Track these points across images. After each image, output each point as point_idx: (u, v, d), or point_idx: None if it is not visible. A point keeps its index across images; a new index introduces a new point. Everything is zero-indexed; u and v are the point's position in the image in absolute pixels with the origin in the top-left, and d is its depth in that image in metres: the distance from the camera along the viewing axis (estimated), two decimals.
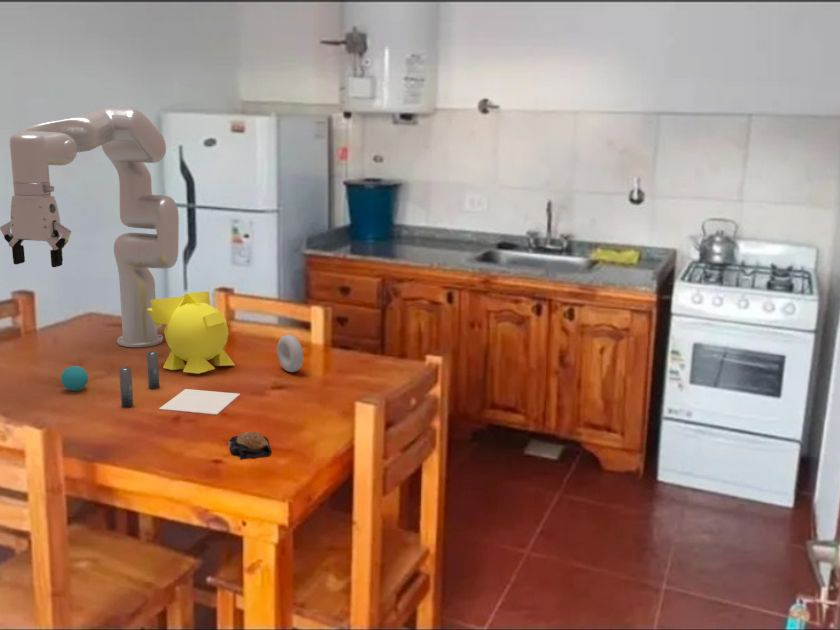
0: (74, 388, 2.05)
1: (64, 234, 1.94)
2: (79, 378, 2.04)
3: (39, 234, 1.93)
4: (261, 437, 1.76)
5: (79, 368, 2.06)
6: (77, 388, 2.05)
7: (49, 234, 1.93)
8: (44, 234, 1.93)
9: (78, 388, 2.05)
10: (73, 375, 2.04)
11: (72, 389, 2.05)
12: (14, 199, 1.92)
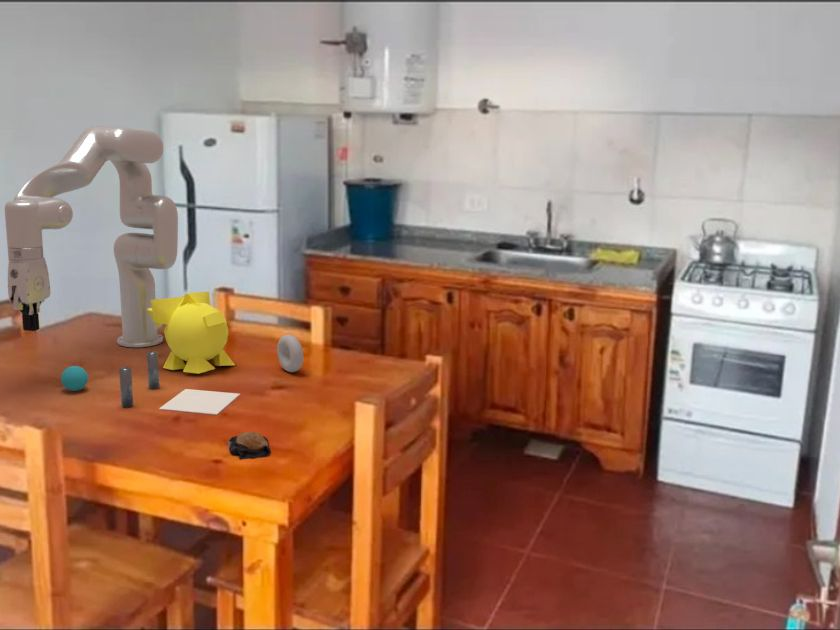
0: (74, 388, 2.05)
1: None
2: (79, 378, 2.04)
3: None
4: (261, 437, 1.76)
5: (79, 368, 2.06)
6: (77, 388, 2.05)
7: (9, 297, 1.99)
8: None
9: (78, 388, 2.05)
10: (73, 375, 2.04)
11: (72, 389, 2.05)
12: None
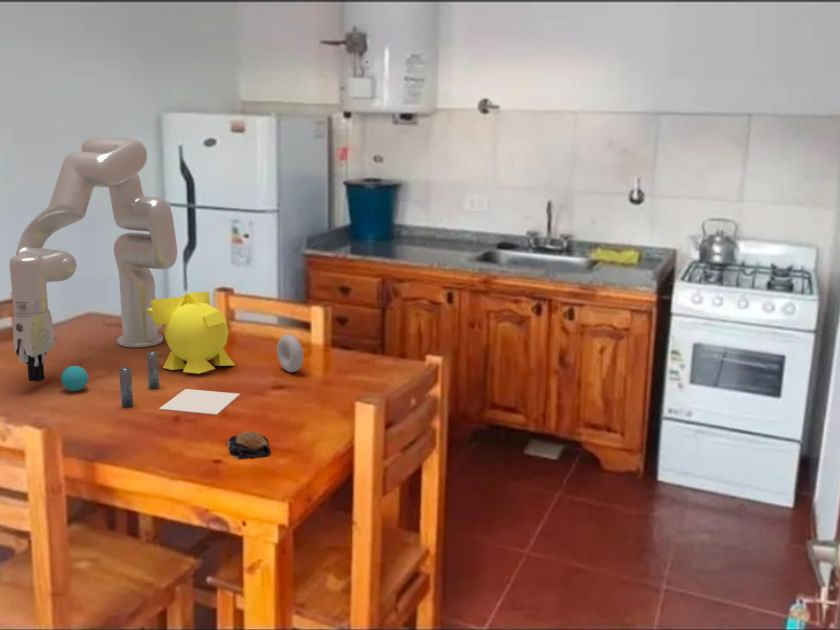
0: (74, 388, 2.05)
1: None
2: (79, 378, 2.04)
3: None
4: (260, 437, 1.76)
5: (79, 368, 2.06)
6: (77, 388, 2.05)
7: None
8: None
9: (78, 388, 2.05)
10: (73, 375, 2.04)
11: (72, 389, 2.05)
12: None
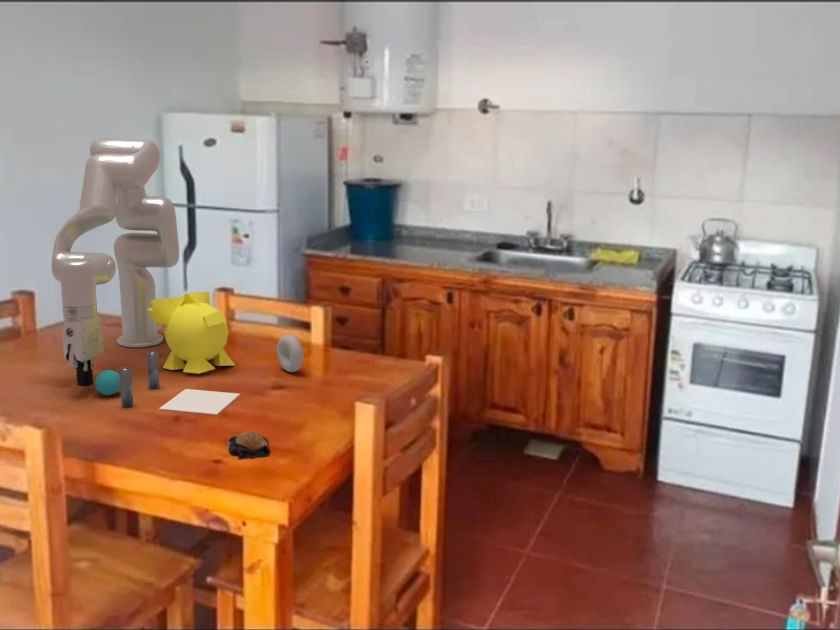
0: (96, 380, 2.03)
1: None
2: None
3: None
4: (260, 437, 1.76)
5: None
6: None
7: (64, 355, 2.00)
8: None
9: (96, 378, 2.03)
10: (100, 392, 2.03)
11: (97, 378, 2.02)
12: None
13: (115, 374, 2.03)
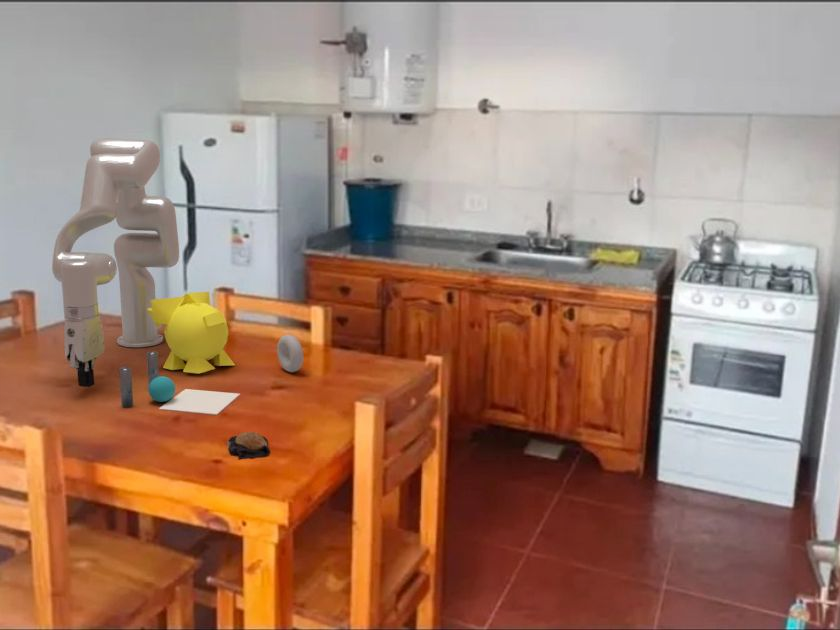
0: None
1: None
2: (165, 400, 2.00)
3: None
4: (260, 437, 1.76)
5: (173, 391, 2.01)
6: None
7: (65, 355, 2.00)
8: None
9: (155, 400, 2.01)
10: (164, 396, 1.99)
11: (151, 397, 2.00)
12: None
13: None
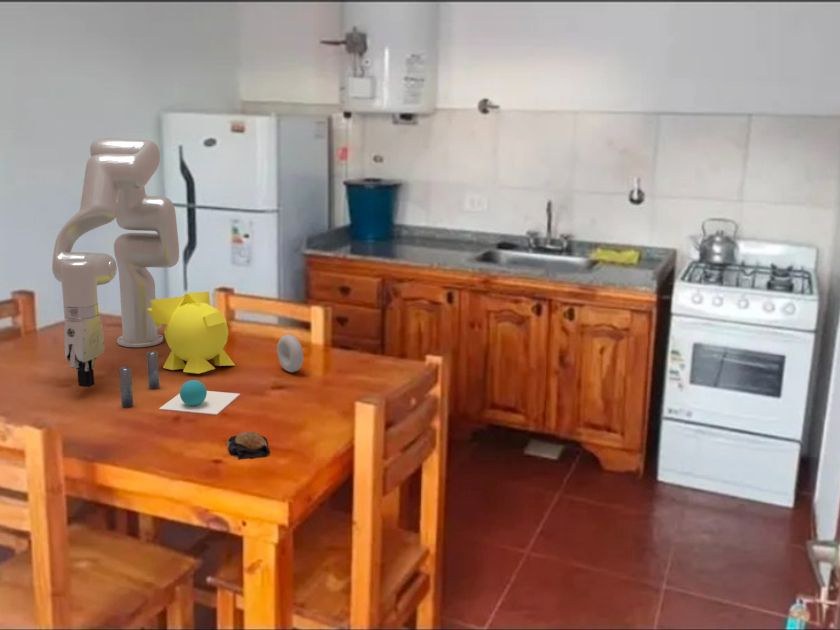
0: (189, 386, 1.97)
1: None
2: None
3: None
4: (260, 437, 1.76)
5: None
6: (189, 384, 1.97)
7: (65, 355, 2.00)
8: None
9: (189, 383, 1.97)
10: (180, 395, 1.97)
11: (192, 387, 1.96)
12: None
13: (204, 397, 1.99)
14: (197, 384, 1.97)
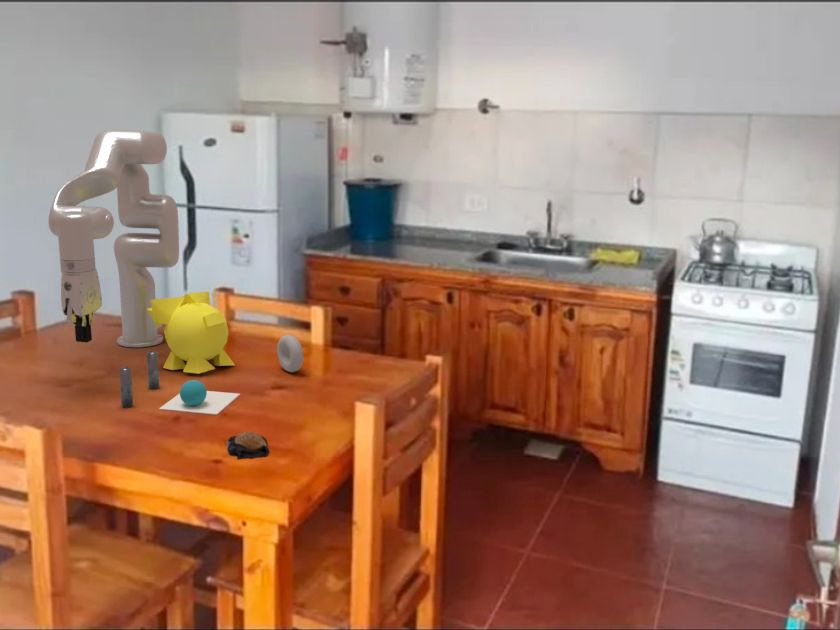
0: (189, 386, 1.97)
1: None
2: None
3: None
4: (259, 437, 1.76)
5: None
6: (189, 384, 1.97)
7: (62, 309, 1.97)
8: None
9: (190, 383, 1.97)
10: (180, 395, 1.97)
11: (192, 387, 1.96)
12: None
13: (204, 397, 1.99)
14: (197, 384, 1.97)
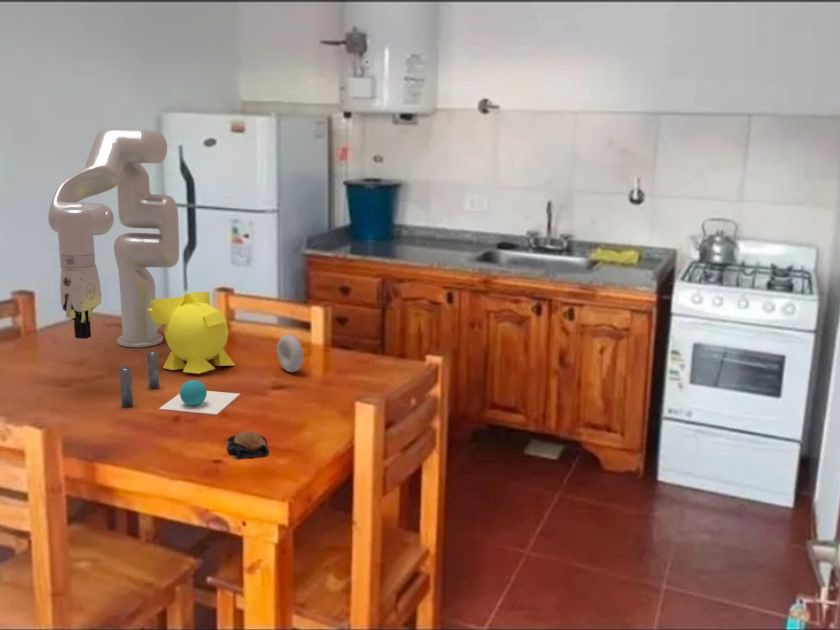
0: (189, 386, 1.97)
1: None
2: None
3: None
4: (259, 437, 1.76)
5: None
6: (189, 384, 1.97)
7: None
8: None
9: (190, 383, 1.97)
10: (180, 395, 1.97)
11: (192, 387, 1.96)
12: None
13: (204, 397, 1.99)
14: (197, 384, 1.97)
